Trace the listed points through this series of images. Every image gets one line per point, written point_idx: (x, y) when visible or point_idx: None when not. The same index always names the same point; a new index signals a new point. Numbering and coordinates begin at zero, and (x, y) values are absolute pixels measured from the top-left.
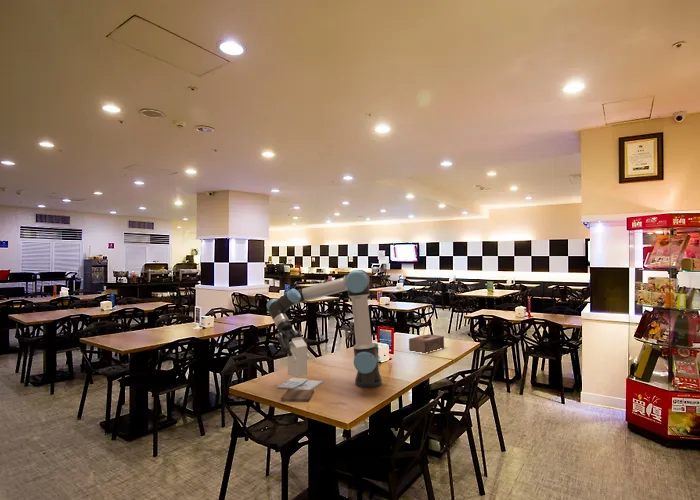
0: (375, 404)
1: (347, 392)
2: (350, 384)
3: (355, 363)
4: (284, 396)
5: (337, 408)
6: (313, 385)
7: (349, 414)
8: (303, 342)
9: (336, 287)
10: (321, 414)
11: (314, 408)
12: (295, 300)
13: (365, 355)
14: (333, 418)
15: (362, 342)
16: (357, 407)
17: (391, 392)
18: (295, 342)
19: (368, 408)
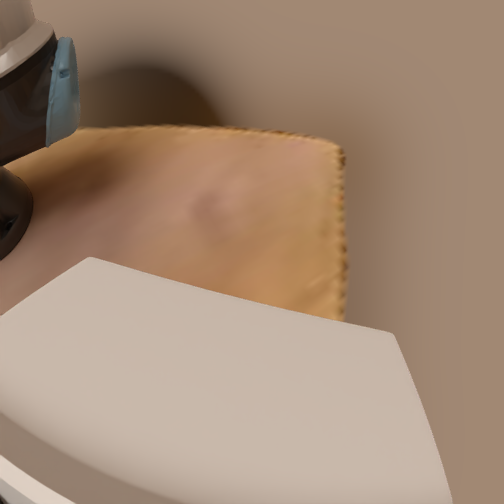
0: (177, 130)
1: (86, 243)
2: (3, 275)
3: (73, 104)
4: None
5: (261, 199)
6: None
7: (286, 155)
8: (65, 314)
9: None
10: (336, 220)
11: (306, 268)
12: None
13: (71, 48)
14: (337, 179)
15: (32, 14)
16: (222, 156)
17: (68, 138)
18: (355, 437)
19: (216, 133)
